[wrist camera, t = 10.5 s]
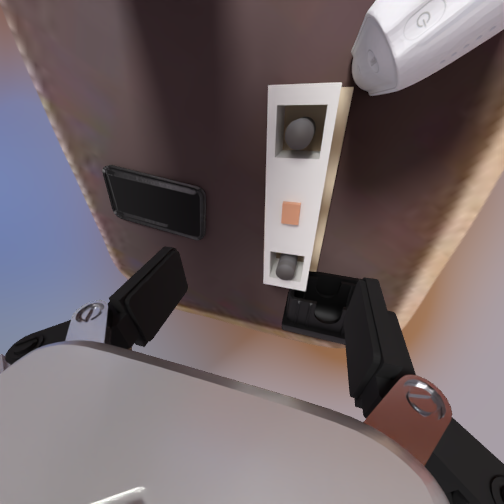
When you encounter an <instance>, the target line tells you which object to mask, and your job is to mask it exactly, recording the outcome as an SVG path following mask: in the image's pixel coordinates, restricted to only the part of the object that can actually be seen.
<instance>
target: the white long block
mask: <svg viewBox="0 0 504 504" xmlns="http://www.w3.org/2000/svg"><path fill="white" fill-rule="evenodd" d="M341 85H342V82H337V83H312V84H286V85H268V113H267V154H266V196H265V237H264V279H263V284H269V285H274V286H279V287H285V288H290V289H295V290H301V291H306V286H307V280H308V274H309V269H310V263H311V257H312V252H313V246H314V240H315V234H316V229H317V223H318V217H319V211H320V206H321V200H322V194H323V188H324V183H325V177H326V171H327V166H328V160H329V154H330V148H331V143H332V137H333V131H334V125H335V120H336V114H337V108H338V103H339V97H340V91H341ZM287 105H327V112H326V119H325V125H324V132H323V138H322V145H321V151H301V150H283V136H284V119H285V106H287ZM276 252H278V253H285V254H292V255H298V256H305V257H304V262H300V261H297V264H296V269H295V274H294V277H293V278H292V279H291V280H282V279H280V278H278V277H277V275H276V268H277V265H278V262H279V259H280V258H276Z"/></svg>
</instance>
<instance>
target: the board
mask: <svg viewBox="0 0 504 504" xmlns="http://www.w3.org/2000/svg"><path fill="white" fill-rule="evenodd" d="M353 89H354V87H341V91H340V97H339V103H338V108H337V114H336V120H335V125H334V131H333V137H332V143H331V148H330V154H329V160H328V166H327V171H326V177H325V183H324V188H323V194H322V200H321V206H320V211H319V217H318V223H317V229H316V234H315V240H314V246H313V252H312V257H311V263H310V269H309V271H313V272H316V270H317V266H318V261H319V256H320V251H321V246H322V241H323V236H324V231H325V226H326V221H327V216H328V212H329V207H330V202H331V197H332V192H333V187H334V182H335V177H336V172H337V167H338V162H339V158H340V153H341V148H342V143H343V138H344V133H345V128H346V123H347V118H348V113H349V109H350V104H351V99H352V94H353ZM326 112H327V105H287V106H285V119H284V136H283V150H301V151H321V145H322V138H323V132H324V125H325V119H326ZM266 154H267V152H266ZM265 196H266V189H265ZM264 237H265V225H264ZM304 257H305V256H298V255H292V254H285V253H278V252H276V258H280V259H279V262H278V265H277V268H276V275H277V277H278V278H280V279H282V280H291V279H292V278H293V277H294V274H295V269H296V264H297V261H300V262H304ZM263 263H264V262H263Z"/></svg>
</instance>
